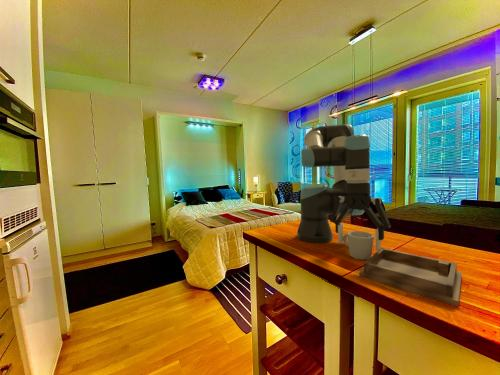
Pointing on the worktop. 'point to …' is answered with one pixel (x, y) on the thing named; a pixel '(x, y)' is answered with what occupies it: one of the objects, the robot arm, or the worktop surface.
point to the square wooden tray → (415, 274)
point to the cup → (359, 244)
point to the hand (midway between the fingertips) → (358, 245)
